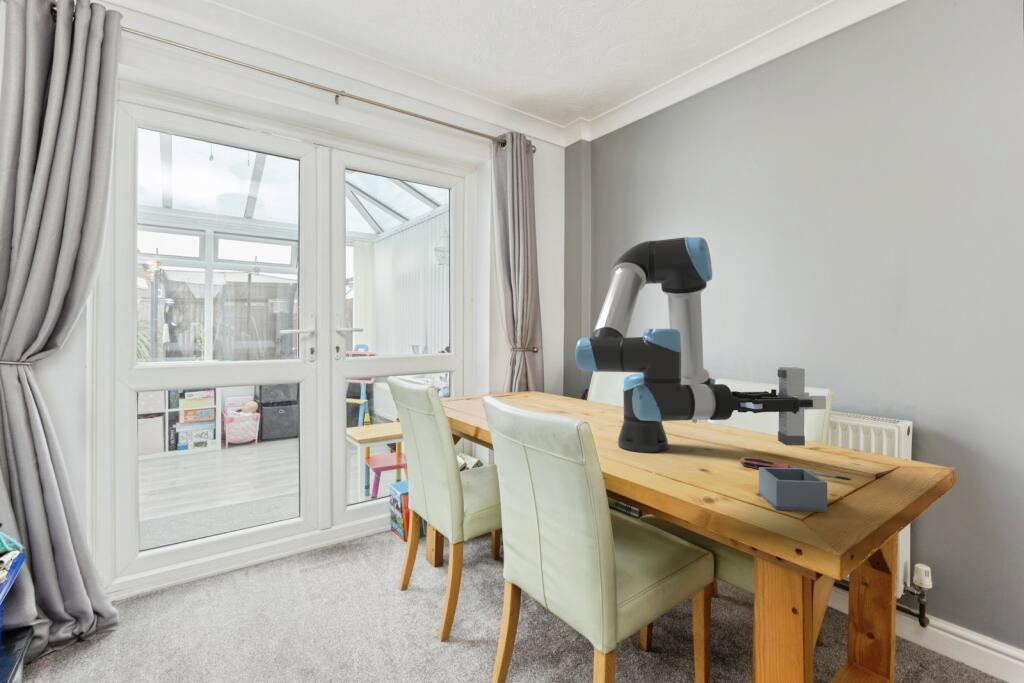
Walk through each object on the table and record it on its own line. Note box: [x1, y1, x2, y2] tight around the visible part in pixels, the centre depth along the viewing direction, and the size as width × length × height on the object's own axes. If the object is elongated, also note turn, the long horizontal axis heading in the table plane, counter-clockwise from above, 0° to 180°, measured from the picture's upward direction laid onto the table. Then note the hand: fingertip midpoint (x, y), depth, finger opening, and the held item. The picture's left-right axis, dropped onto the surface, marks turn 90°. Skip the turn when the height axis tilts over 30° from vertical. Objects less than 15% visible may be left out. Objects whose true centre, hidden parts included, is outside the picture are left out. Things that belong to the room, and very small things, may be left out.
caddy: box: [758, 467, 828, 513], centre depth 101 cm, size 10×10×6 cm
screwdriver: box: [739, 456, 853, 481], centre depth 120 cm, size 25×3×3 cm, turn 48°
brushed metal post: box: [777, 366, 806, 447], centre depth 100 cm, size 4×4×16 cm
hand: (815, 400), depth 100 cm, fingers closed on brushed metal post, 4 cm apart
